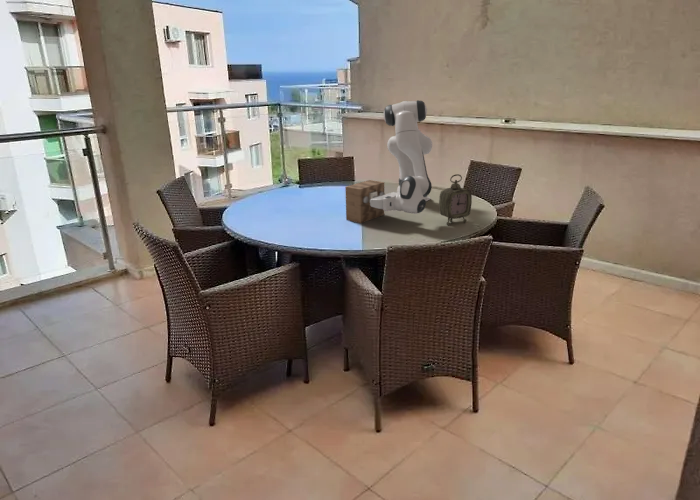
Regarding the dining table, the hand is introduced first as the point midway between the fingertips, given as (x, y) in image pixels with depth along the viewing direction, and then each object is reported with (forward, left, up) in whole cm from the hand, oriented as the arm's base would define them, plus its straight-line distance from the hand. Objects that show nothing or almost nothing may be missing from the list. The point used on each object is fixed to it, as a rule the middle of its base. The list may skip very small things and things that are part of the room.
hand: (374, 197), depth 253 cm
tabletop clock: (-20, +36, -12) cm, 43 cm away
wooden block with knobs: (0, -5, -12) cm, 13 cm away
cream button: (0, -2, -2) cm, 3 cm away
